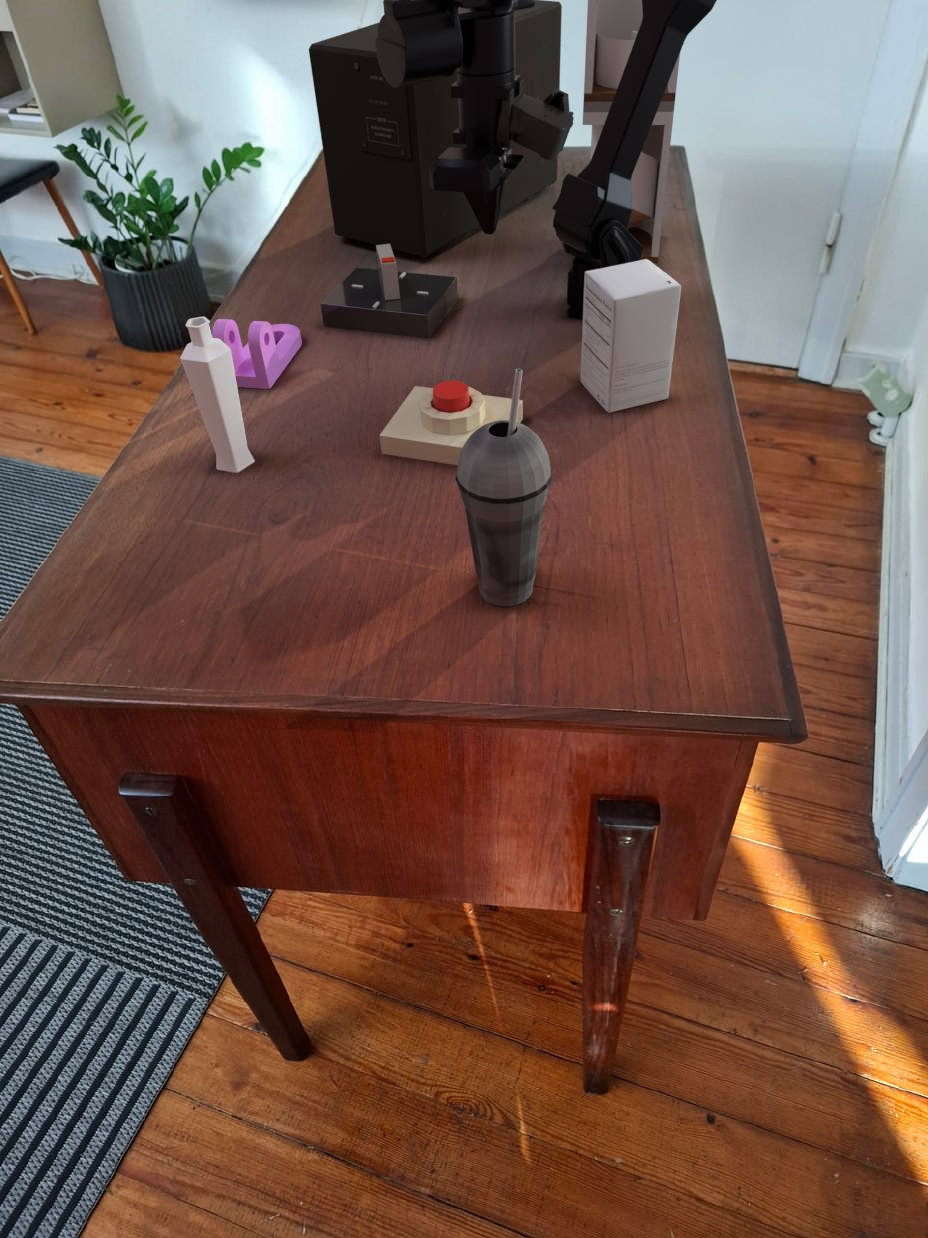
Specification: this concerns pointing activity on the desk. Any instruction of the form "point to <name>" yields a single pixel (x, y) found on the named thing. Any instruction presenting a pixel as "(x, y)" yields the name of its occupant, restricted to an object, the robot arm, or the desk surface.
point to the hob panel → (390, 303)
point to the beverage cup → (504, 504)
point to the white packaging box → (628, 334)
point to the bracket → (259, 350)
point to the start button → (451, 396)
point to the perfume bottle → (216, 395)
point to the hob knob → (387, 271)
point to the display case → (606, 57)
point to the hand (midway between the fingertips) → (489, 232)
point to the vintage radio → (415, 137)
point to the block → (440, 425)
